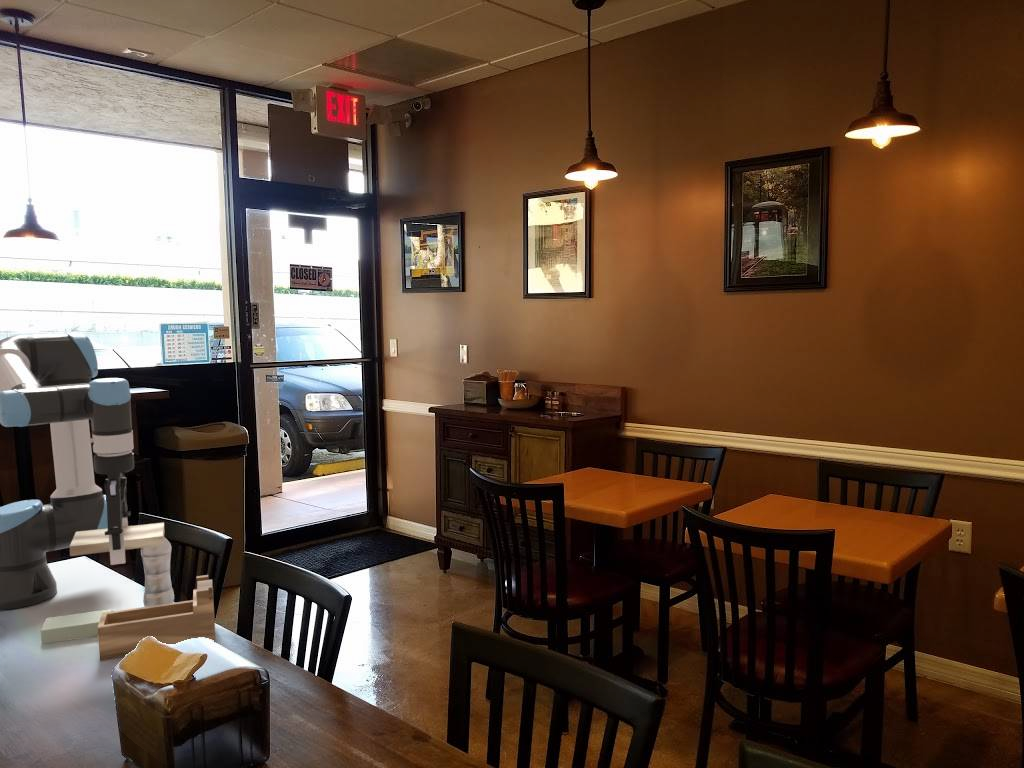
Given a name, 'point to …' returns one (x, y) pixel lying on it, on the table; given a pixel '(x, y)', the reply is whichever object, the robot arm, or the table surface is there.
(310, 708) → the table surface
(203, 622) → the toolbox
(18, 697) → the table surface
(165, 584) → the plastic bottle
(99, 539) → the lid
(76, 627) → the block
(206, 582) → the block
